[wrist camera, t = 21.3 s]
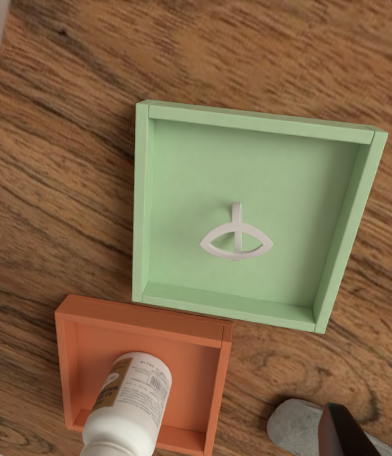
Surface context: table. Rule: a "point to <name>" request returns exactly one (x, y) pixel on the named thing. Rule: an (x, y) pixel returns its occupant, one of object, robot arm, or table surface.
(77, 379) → the terracotta tray
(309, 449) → the stone
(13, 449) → the table surface
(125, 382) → the pill bottle
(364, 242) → the table surface
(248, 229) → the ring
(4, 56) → the table surface
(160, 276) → the sage tray
